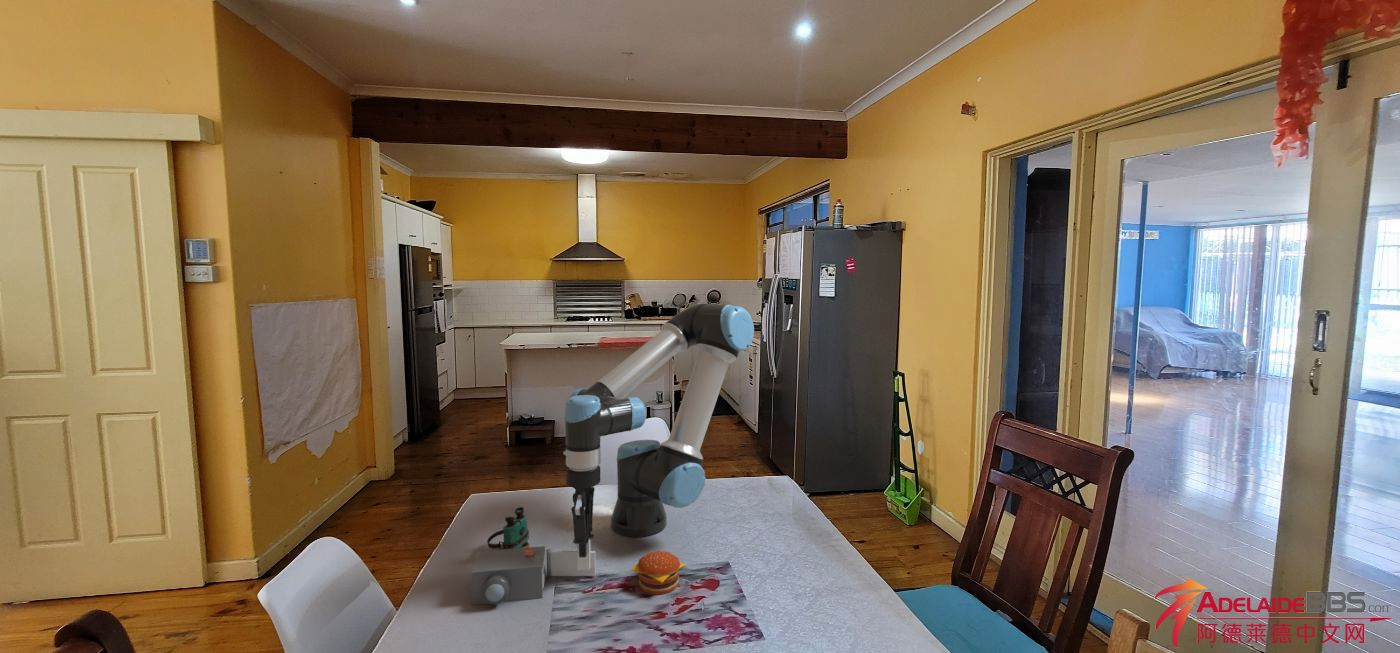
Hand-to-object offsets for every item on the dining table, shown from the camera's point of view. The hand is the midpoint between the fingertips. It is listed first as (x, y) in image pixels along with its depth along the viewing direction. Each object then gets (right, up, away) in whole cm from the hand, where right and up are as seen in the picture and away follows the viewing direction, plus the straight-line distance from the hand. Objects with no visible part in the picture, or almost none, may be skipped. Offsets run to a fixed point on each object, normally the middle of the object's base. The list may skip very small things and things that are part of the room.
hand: (584, 568), depth 126 cm
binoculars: (-21, -2, +12) cm, 24 cm away
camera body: (-15, -3, -5) cm, 16 cm away
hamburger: (+17, -3, -1) cm, 17 cm away
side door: (-3, -2, +1) cm, 4 cm away
